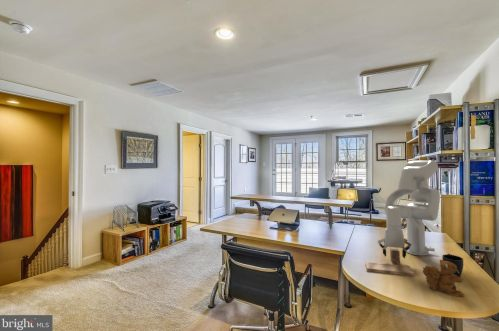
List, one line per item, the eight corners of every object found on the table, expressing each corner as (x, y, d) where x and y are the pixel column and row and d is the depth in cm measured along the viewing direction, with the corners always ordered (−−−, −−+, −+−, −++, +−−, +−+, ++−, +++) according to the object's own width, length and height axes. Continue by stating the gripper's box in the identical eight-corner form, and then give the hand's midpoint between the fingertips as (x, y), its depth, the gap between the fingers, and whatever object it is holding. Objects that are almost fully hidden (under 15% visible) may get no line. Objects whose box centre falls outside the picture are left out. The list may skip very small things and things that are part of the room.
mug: (459, 271, 128) (459, 253, 128) (465, 281, 118) (465, 261, 118) (440, 268, 132) (439, 251, 132) (444, 277, 122) (443, 258, 122)
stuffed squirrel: (466, 298, 104) (465, 267, 104) (426, 291, 110) (425, 263, 110) (458, 287, 113) (457, 259, 113) (421, 281, 119) (420, 255, 119)
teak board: (409, 268, 133) (408, 266, 133) (413, 276, 125) (413, 273, 125) (365, 264, 141) (365, 261, 141) (367, 271, 132) (366, 268, 132)
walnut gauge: (398, 260, 144) (397, 249, 144) (402, 268, 134) (402, 255, 134) (390, 260, 146) (390, 248, 145) (394, 267, 136) (394, 254, 136)
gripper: (409, 227, 143) (409, 256, 143) (376, 225, 149) (376, 252, 149) (412, 230, 136) (413, 260, 136) (378, 227, 142) (378, 257, 142)
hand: (394, 256), depth 142 cm, fingers open, 9 cm apart
